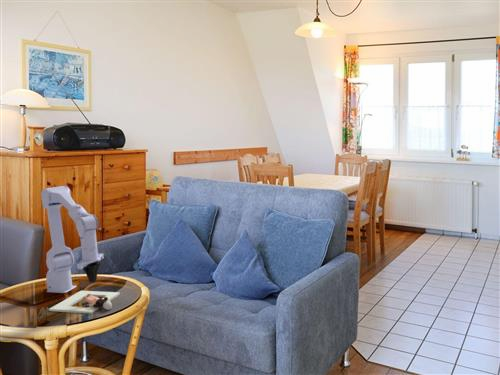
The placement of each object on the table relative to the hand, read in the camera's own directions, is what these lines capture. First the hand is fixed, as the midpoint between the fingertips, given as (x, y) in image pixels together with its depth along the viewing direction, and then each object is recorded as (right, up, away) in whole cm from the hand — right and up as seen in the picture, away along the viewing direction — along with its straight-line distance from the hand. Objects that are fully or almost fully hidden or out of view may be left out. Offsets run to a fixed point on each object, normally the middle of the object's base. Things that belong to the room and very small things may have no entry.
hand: (92, 281), depth 188 cm
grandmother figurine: (-2, -6, -1) cm, 6 cm away
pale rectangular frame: (-2, -8, +2) cm, 9 cm away
